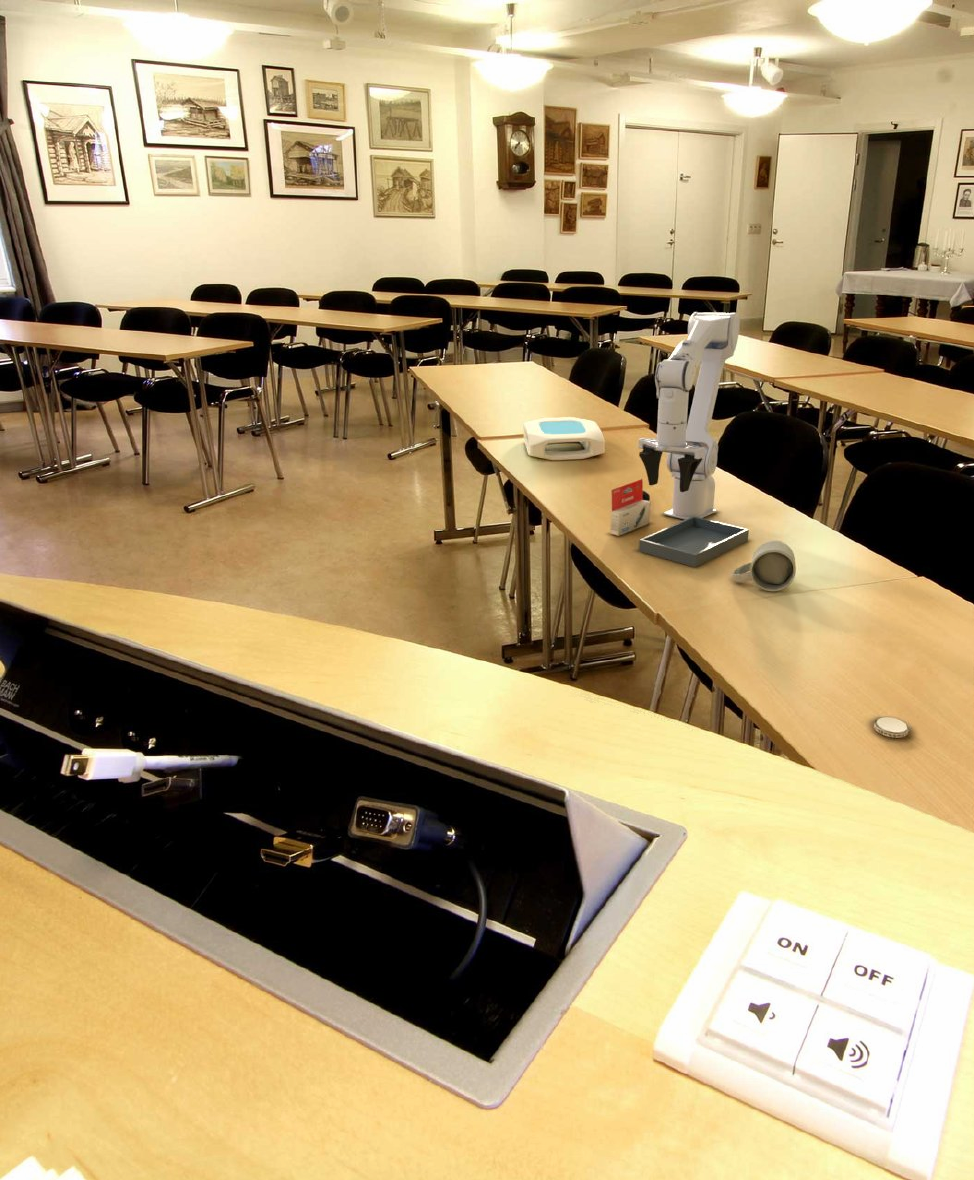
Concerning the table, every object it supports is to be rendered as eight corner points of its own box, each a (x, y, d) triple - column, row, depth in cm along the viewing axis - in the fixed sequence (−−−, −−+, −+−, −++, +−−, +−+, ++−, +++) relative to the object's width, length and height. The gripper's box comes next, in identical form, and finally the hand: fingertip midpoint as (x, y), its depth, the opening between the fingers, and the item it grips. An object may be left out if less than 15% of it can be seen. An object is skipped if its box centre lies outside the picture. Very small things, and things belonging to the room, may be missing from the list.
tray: (692, 527, 181) (693, 515, 180) (747, 540, 172) (749, 529, 171) (638, 551, 169) (639, 539, 168) (694, 567, 160) (695, 555, 159)
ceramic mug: (792, 576, 154) (796, 536, 151) (793, 593, 147) (797, 552, 144) (733, 572, 157) (735, 533, 154) (730, 589, 150) (733, 549, 147)
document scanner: (590, 435, 261) (590, 415, 258) (605, 458, 235) (605, 436, 233) (523, 438, 260) (522, 418, 258) (530, 461, 235) (530, 439, 232)
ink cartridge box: (650, 523, 184) (651, 480, 180) (618, 536, 177) (620, 492, 173) (640, 521, 185) (642, 478, 181) (609, 534, 178) (610, 490, 174)
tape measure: (650, 507, 194) (651, 491, 192) (623, 511, 192) (624, 495, 190) (637, 499, 200) (637, 484, 198) (610, 502, 198) (611, 487, 196)
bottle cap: (874, 734, 106) (875, 730, 106) (873, 718, 110) (874, 714, 110) (909, 739, 105) (910, 735, 105) (907, 723, 108) (907, 719, 108)
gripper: (630, 420, 169) (628, 485, 175) (691, 429, 160) (687, 498, 165) (651, 415, 174) (648, 478, 179) (712, 423, 164) (707, 490, 169)
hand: (668, 487), depth 172 cm, fingers open, 7 cm apart
